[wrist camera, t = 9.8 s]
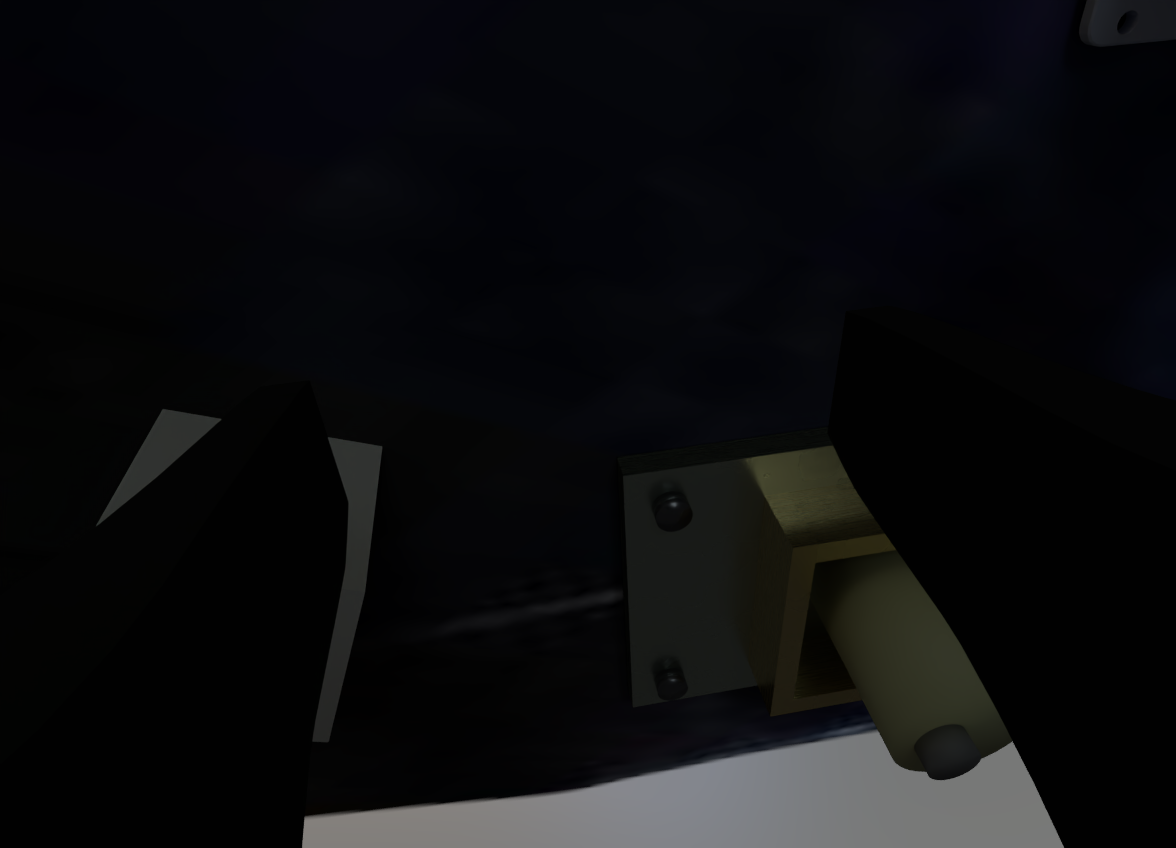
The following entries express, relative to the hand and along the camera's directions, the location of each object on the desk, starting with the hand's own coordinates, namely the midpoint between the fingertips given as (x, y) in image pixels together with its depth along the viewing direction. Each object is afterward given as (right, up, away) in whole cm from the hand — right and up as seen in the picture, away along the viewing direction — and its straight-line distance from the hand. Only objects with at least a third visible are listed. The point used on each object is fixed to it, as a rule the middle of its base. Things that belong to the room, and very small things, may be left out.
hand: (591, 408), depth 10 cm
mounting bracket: (+9, -5, +18) cm, 21 cm away
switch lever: (+10, -5, +17) cm, 21 cm away
